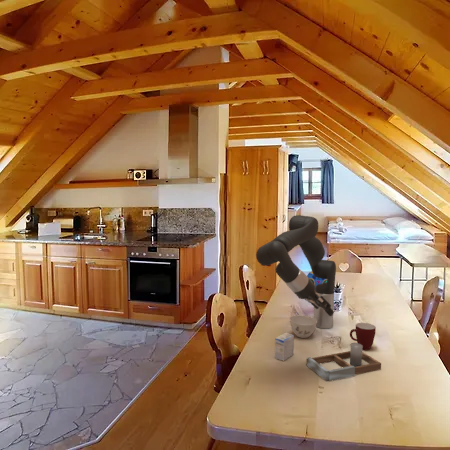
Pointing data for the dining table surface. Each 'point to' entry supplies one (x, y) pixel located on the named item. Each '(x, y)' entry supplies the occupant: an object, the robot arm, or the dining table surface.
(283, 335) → the medicine box
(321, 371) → the divider rack
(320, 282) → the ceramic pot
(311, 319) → the teacup
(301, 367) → the dining table surface
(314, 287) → the robot arm
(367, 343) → the mug
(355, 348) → the grey dome-topped cylinder
